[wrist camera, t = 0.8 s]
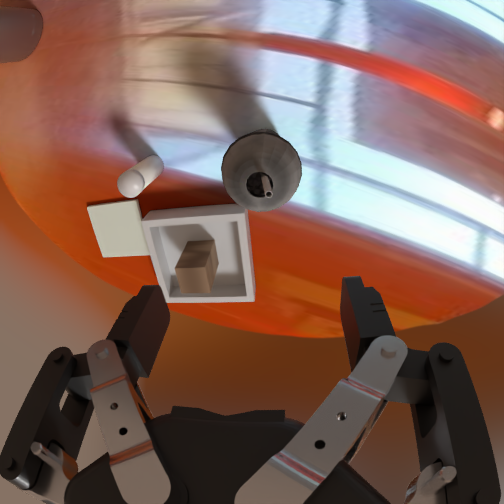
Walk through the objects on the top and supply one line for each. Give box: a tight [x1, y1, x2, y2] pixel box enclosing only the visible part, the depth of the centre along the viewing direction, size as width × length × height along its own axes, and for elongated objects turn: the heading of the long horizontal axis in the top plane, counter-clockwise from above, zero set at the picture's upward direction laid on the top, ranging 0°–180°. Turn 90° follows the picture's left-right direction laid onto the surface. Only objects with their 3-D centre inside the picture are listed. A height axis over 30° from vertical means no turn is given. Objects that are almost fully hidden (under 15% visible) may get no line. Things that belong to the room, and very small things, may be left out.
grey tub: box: [141, 203, 256, 303], centre depth 44 cm, size 14×14×4 cm
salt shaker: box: [117, 155, 164, 198], centre depth 35 cm, size 3×3×8 cm
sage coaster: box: [87, 199, 150, 257], centre depth 44 cm, size 9×9×1 cm
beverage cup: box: [221, 129, 302, 212], centre depth 28 cm, size 7×7×20 cm
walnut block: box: [175, 240, 219, 293], centre depth 42 cm, size 4×4×7 cm
